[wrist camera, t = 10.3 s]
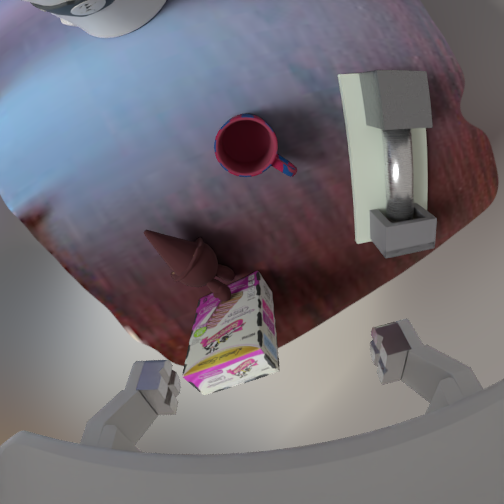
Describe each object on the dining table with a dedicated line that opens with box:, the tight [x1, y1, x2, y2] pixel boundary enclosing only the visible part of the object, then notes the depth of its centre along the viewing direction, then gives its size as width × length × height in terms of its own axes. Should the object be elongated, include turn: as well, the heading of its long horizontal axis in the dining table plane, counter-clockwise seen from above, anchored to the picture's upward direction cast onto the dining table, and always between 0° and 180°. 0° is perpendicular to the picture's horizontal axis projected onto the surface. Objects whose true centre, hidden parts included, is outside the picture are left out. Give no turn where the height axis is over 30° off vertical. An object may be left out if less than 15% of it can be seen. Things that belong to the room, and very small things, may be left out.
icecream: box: [144, 230, 235, 302], centre depth 41 cm, size 7×7×15 cm
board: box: [338, 73, 428, 244], centre depth 37 cm, size 24×12×1 cm, turn 11°
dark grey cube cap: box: [359, 70, 433, 130], centre depth 30 cm, size 7×7×6 cm
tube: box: [381, 129, 414, 223], centre depth 36 cm, size 15×4×4 cm, turn 11°
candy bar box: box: [182, 271, 279, 395], centre depth 41 cm, size 11×5×16 cm, turn 120°
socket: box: [369, 203, 437, 258], centre depth 39 cm, size 4×8×6 cm, turn 101°
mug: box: [214, 114, 297, 177], centre depth 34 cm, size 7×10×7 cm
